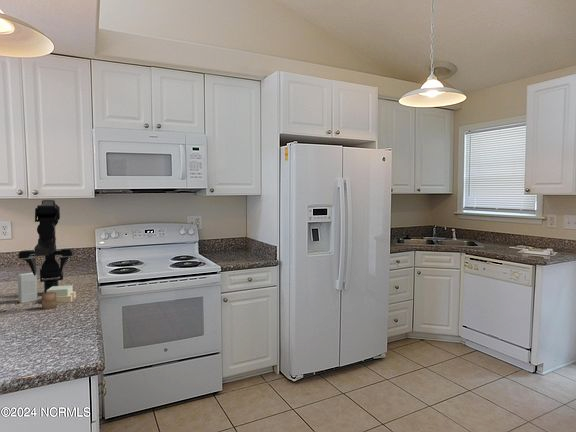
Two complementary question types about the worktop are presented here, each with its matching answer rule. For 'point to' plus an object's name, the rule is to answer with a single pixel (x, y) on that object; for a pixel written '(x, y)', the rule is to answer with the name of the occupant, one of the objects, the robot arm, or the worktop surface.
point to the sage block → (61, 290)
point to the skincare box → (27, 287)
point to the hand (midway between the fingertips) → (48, 274)
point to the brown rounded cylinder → (49, 300)
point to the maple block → (66, 298)
